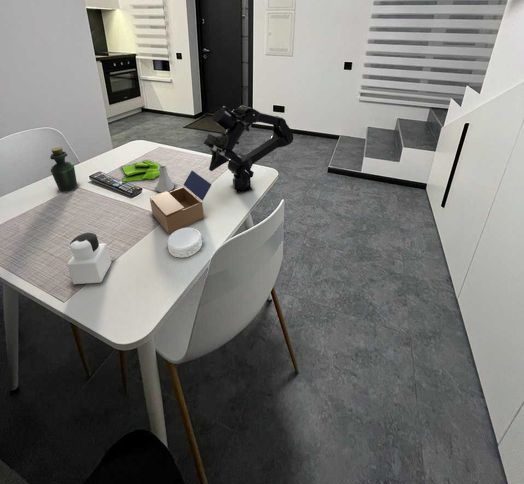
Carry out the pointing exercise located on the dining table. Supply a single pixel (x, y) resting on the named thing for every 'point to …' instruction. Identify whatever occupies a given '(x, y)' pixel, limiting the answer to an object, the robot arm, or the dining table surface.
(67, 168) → the potion bottle
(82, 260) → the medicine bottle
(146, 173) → the cloth
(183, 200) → the carton
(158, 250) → the dining table surface
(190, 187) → the flap
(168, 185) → the flask
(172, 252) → the white round disc
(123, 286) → the dining table surface
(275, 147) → the robot arm
